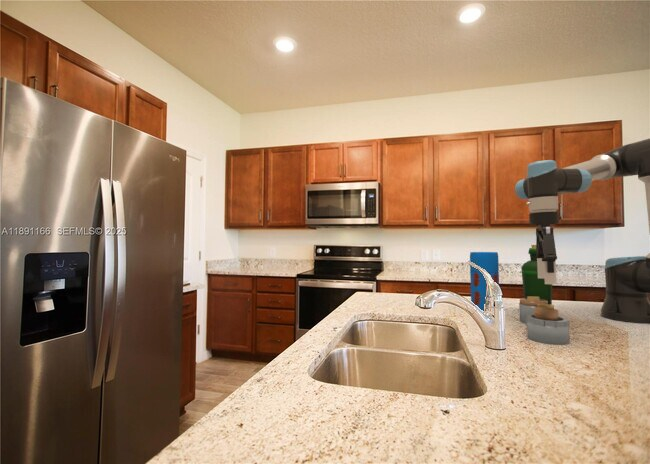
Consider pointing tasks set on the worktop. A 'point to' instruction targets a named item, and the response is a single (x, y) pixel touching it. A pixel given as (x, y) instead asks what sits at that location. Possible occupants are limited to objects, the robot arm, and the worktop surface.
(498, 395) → the worktop surface
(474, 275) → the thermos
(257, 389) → the worktop surface
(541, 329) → the canister
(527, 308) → the canister
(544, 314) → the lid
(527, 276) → the bottle
